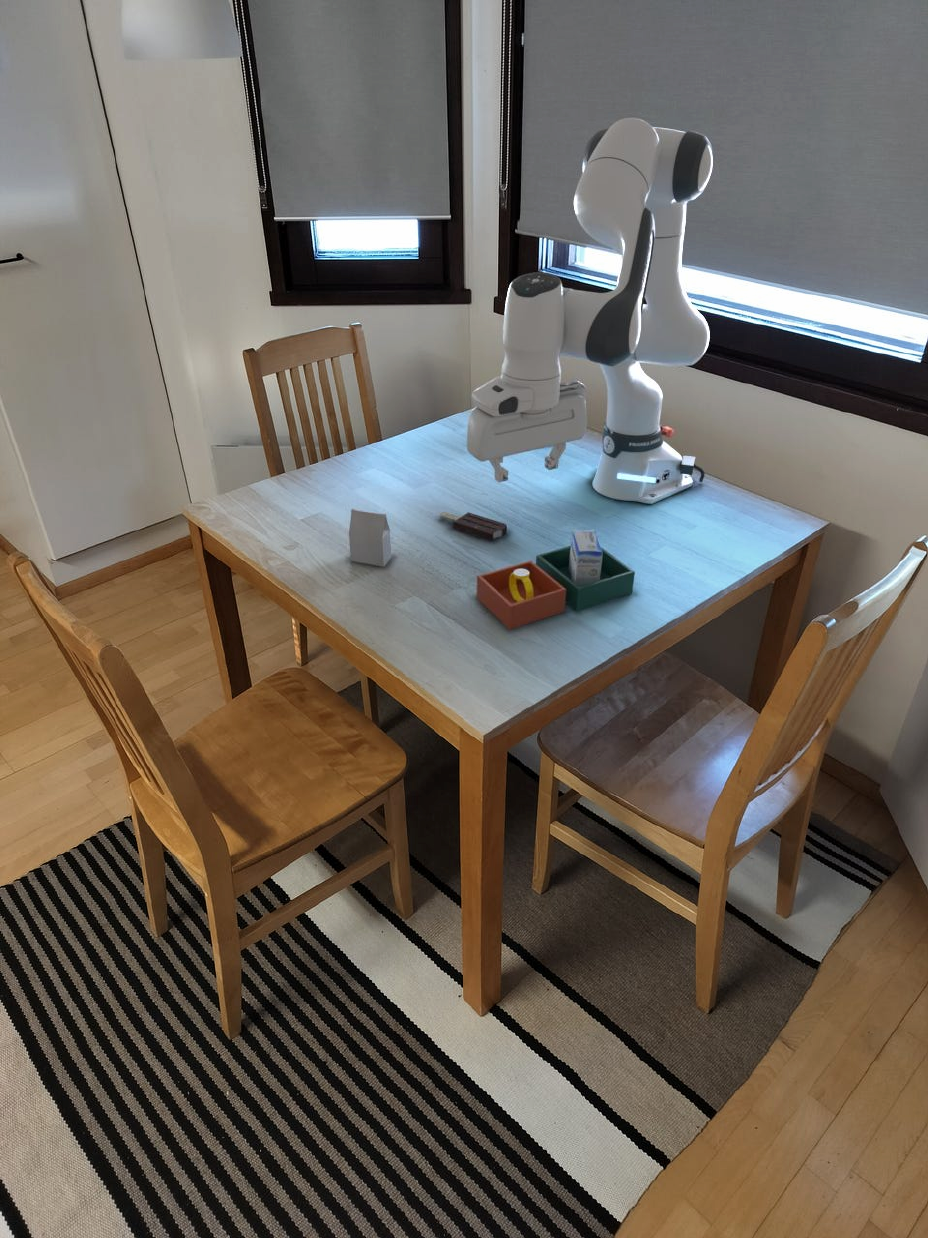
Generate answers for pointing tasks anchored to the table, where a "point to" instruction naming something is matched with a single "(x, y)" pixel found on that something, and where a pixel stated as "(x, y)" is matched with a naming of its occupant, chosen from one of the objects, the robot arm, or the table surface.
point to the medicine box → (585, 557)
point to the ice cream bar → (477, 525)
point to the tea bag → (369, 538)
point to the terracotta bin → (521, 595)
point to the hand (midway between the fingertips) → (526, 474)
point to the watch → (524, 576)
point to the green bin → (611, 585)
